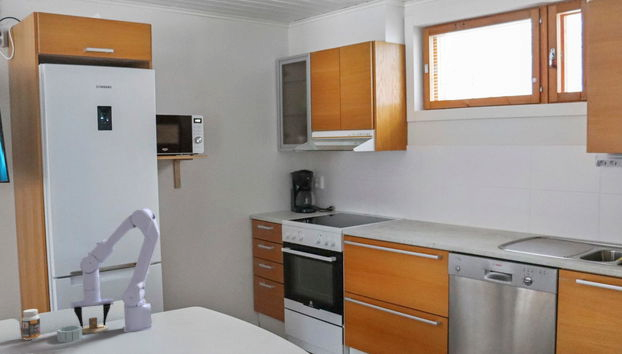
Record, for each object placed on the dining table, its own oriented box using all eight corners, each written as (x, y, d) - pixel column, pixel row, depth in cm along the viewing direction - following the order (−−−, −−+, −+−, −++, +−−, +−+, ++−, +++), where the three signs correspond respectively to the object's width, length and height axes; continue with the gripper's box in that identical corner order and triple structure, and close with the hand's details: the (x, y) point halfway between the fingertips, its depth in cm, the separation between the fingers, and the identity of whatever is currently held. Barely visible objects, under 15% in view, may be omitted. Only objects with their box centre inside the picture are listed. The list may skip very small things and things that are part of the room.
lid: (106, 325, 225) (106, 314, 224) (106, 331, 216) (106, 319, 216) (80, 328, 222) (80, 317, 222) (79, 334, 213) (79, 322, 213)
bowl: (82, 335, 214) (82, 324, 214) (81, 341, 206) (81, 330, 206) (58, 338, 211) (57, 327, 211) (56, 344, 204) (56, 333, 204)
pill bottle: (33, 341, 209) (32, 312, 209) (19, 340, 210) (17, 312, 210) (44, 336, 214) (42, 308, 214) (29, 335, 216) (28, 308, 215)
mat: (107, 326, 225) (107, 325, 225) (108, 332, 216) (108, 331, 216) (79, 329, 222) (79, 328, 222) (78, 336, 212) (78, 335, 212)
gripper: (112, 285, 225) (114, 321, 225) (70, 288, 220) (72, 325, 220) (112, 288, 218) (114, 325, 218) (69, 292, 213) (71, 330, 214)
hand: (93, 326), depth 219 cm, fingers open, 7 cm apart
